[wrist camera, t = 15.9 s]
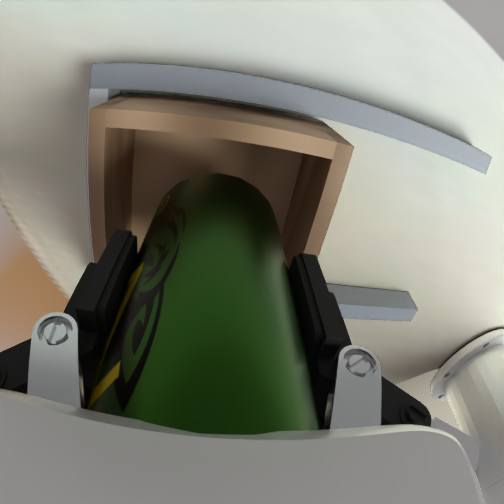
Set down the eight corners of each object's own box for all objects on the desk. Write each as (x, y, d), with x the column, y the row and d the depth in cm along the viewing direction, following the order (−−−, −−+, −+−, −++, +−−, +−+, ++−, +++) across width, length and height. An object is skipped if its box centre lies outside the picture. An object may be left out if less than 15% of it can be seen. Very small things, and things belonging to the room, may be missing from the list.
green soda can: (283, 172, 13) (385, 483, 3) (266, 273, 16) (300, 528, 6) (155, 163, 13) (18, 461, 3) (159, 267, 16) (109, 520, 6)
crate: (322, 120, 16) (353, 146, 11) (279, 274, 21) (289, 332, 17) (128, 92, 14) (89, 108, 10) (124, 254, 20) (100, 308, 15)
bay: (473, 146, 16) (492, 156, 15) (401, 303, 23) (410, 321, 22) (107, 62, 13) (91, 64, 12) (105, 269, 20) (96, 289, 19)
